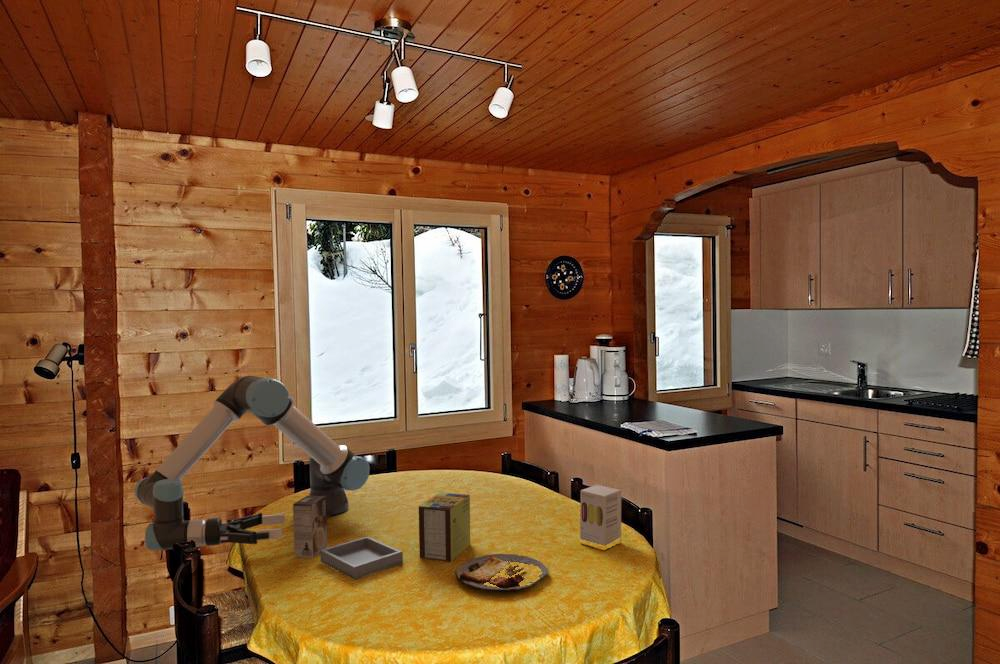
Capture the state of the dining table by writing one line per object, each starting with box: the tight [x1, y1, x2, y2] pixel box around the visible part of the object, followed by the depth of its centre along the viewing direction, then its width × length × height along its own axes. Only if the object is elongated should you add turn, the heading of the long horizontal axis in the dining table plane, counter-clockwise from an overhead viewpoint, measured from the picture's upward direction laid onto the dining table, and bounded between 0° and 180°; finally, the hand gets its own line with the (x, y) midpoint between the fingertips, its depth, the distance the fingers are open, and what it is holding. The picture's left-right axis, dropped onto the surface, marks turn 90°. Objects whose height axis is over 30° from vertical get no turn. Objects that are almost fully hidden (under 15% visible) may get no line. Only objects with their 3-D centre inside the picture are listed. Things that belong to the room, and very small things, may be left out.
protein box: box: [418, 491, 471, 562], centre depth 200 cm, size 10×15×16 cm
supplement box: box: [579, 484, 622, 546], centre depth 204 cm, size 10×9×17 cm
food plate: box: [454, 553, 549, 592], centre depth 180 cm, size 25×23×4 cm
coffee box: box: [292, 495, 328, 559], centre depth 199 cm, size 9×6×16 cm
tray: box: [319, 535, 404, 580], centre depth 191 cm, size 16×18×4 cm
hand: (283, 525), depth 197 cm, fingers open, 13 cm apart
